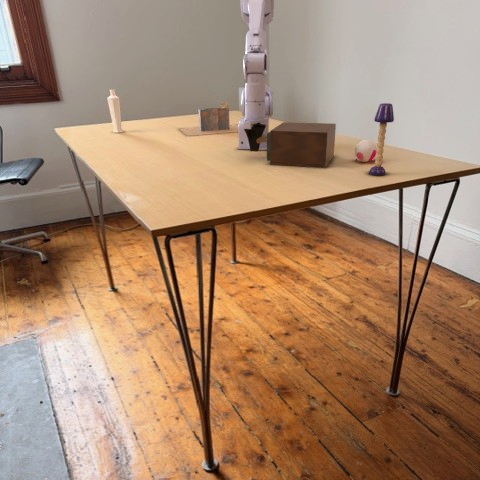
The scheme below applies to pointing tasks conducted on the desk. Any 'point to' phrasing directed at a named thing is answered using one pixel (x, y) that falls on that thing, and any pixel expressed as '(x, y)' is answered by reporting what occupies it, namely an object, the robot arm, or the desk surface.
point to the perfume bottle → (115, 111)
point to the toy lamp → (381, 135)
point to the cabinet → (302, 144)
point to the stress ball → (365, 151)
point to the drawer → (262, 139)
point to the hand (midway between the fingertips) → (254, 150)
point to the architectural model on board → (212, 122)
